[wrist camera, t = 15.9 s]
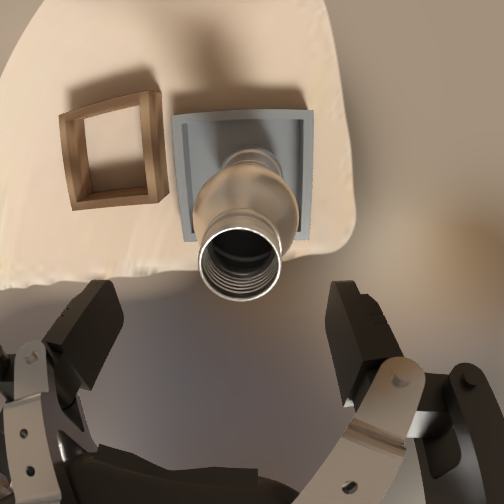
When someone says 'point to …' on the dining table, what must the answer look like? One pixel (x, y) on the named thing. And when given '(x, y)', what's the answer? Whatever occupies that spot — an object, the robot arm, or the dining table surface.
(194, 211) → the plastic bottle
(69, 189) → the walnut collar
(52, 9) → the dining table surface
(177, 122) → the grey tray
